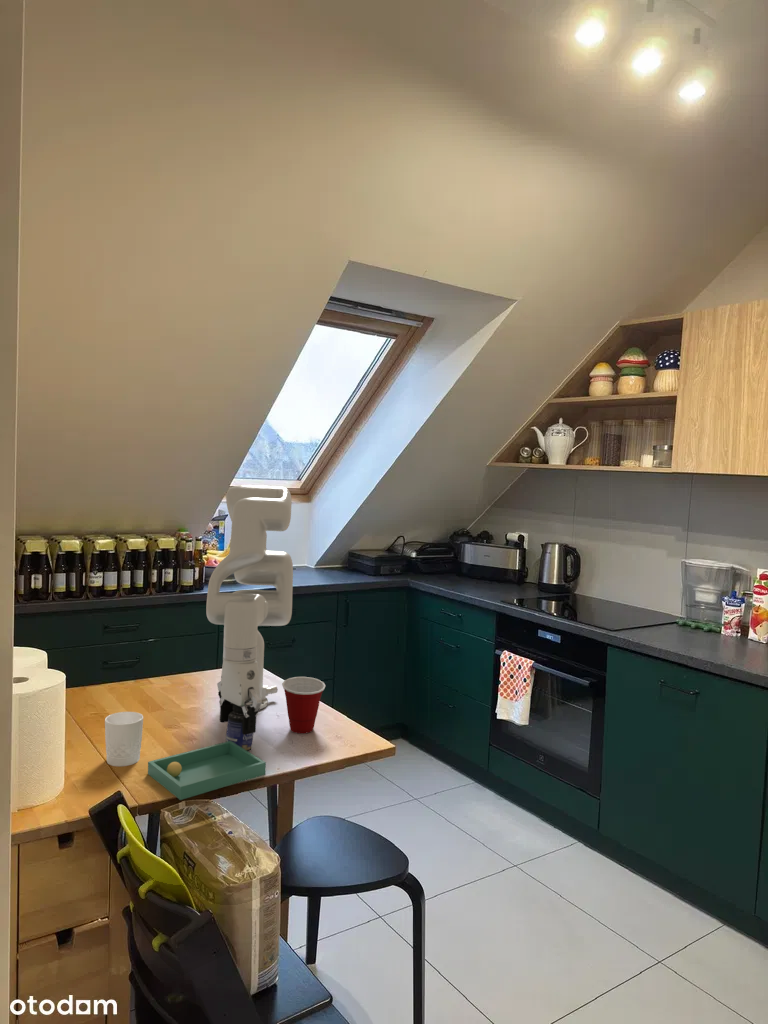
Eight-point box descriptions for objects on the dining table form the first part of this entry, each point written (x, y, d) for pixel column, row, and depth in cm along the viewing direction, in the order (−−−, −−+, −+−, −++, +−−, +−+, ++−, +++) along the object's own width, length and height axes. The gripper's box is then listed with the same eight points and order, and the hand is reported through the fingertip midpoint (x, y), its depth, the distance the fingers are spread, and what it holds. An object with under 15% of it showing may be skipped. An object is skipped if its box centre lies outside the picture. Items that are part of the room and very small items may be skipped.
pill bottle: (245, 756, 165) (250, 707, 165) (220, 751, 166) (225, 703, 167) (255, 749, 171) (260, 702, 172) (230, 744, 172) (236, 698, 173)
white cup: (110, 754, 163) (110, 711, 162) (146, 755, 164) (147, 711, 163) (99, 769, 155) (100, 724, 154) (137, 770, 156) (138, 724, 155)
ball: (177, 771, 155) (177, 758, 154) (184, 776, 152) (184, 763, 152) (164, 775, 153) (164, 761, 152) (170, 780, 150) (171, 766, 150)
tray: (229, 754, 166) (230, 740, 166) (265, 776, 156) (265, 762, 155) (147, 776, 153) (148, 761, 153) (180, 802, 142) (180, 786, 142)
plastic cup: (289, 740, 176) (291, 692, 175) (274, 725, 186) (276, 679, 185) (330, 734, 181) (332, 687, 180) (314, 719, 191) (315, 674, 190)
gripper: (275, 659, 163) (272, 734, 163) (234, 644, 175) (232, 714, 176) (246, 663, 158) (243, 741, 158) (206, 647, 170) (204, 720, 171)
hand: (237, 727), depth 167 cm, fingers open, 9 cm apart
